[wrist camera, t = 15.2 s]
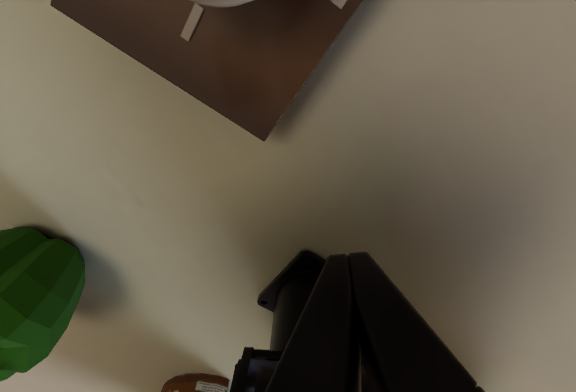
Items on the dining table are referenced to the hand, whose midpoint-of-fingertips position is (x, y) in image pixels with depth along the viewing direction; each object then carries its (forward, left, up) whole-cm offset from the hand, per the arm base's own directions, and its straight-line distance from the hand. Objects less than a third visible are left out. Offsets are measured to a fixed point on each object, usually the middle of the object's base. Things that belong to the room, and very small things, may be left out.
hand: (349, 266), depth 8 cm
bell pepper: (-21, +10, -12) cm, 26 cm away
